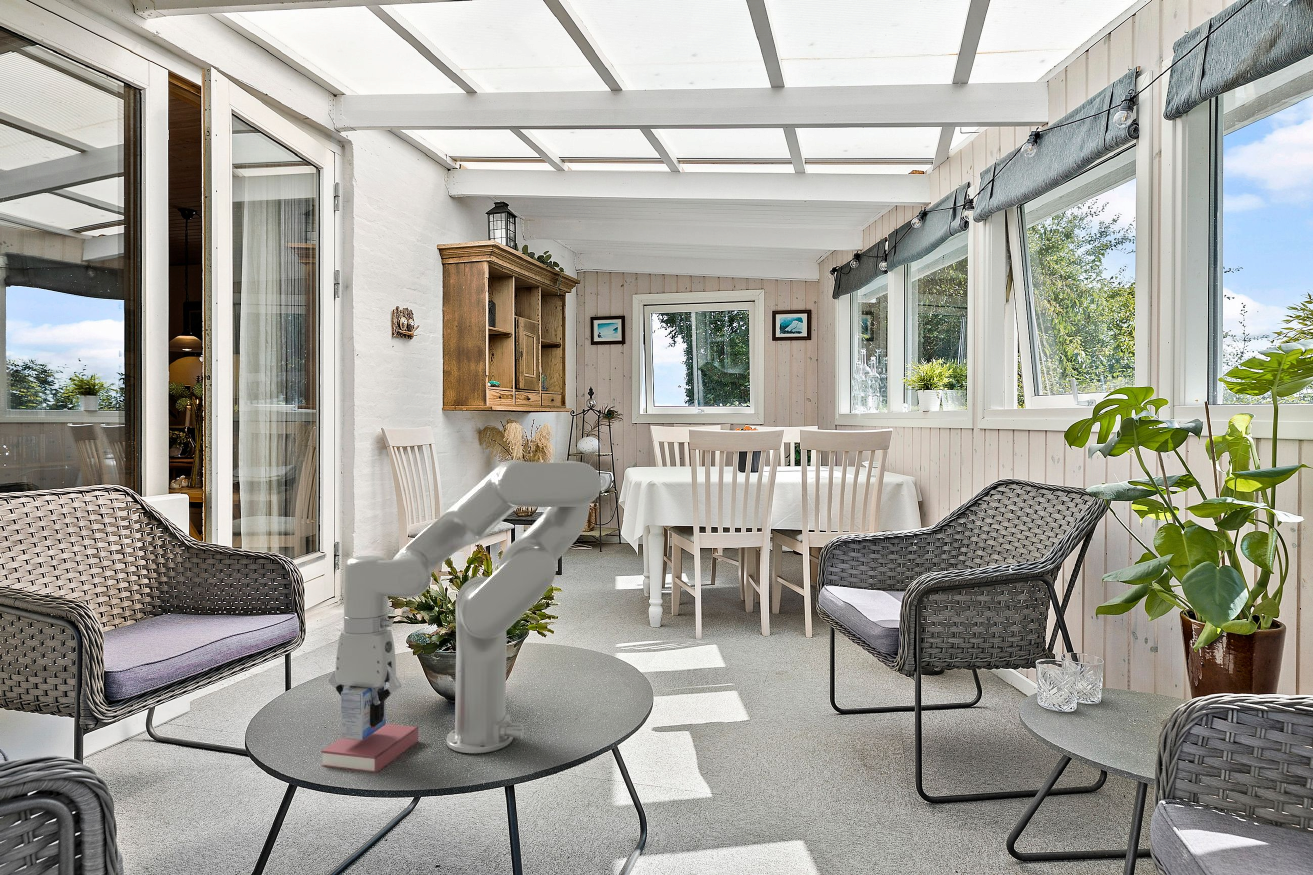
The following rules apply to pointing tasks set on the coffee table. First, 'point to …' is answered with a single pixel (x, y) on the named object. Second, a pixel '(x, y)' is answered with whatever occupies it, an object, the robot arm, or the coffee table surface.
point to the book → (370, 749)
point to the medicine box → (357, 713)
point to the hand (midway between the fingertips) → (363, 721)
